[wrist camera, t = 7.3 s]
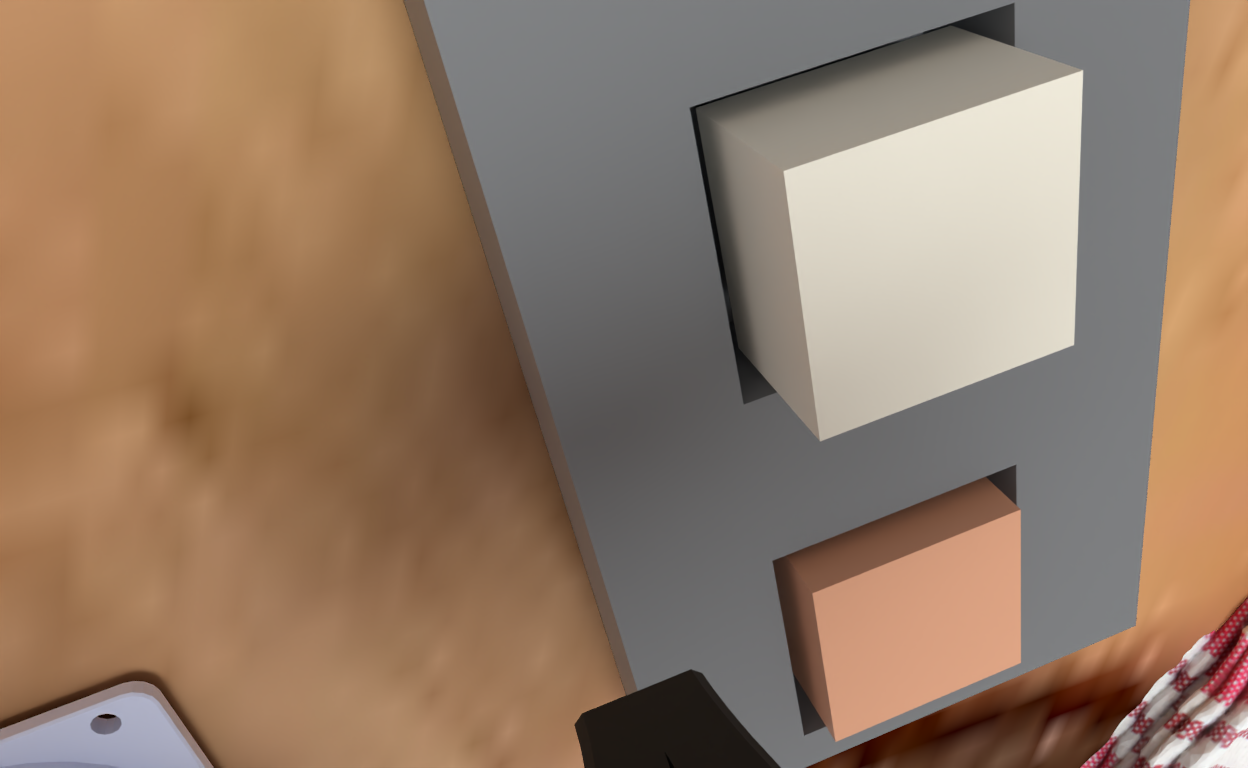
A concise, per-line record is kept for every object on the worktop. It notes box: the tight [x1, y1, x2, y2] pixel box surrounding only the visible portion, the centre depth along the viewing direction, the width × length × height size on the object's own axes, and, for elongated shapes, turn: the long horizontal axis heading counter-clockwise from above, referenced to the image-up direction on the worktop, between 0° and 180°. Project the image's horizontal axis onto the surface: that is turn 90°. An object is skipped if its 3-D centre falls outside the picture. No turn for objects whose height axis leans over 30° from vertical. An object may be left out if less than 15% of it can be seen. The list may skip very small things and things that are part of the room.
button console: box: [404, 0, 1190, 768], centre depth 17 cm, size 11×24×4 cm, turn 12°
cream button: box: [696, 26, 1083, 441], centre depth 15 cm, size 4×4×3 cm
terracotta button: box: [772, 477, 1021, 742], centre depth 21 cm, size 4×4×3 cm
